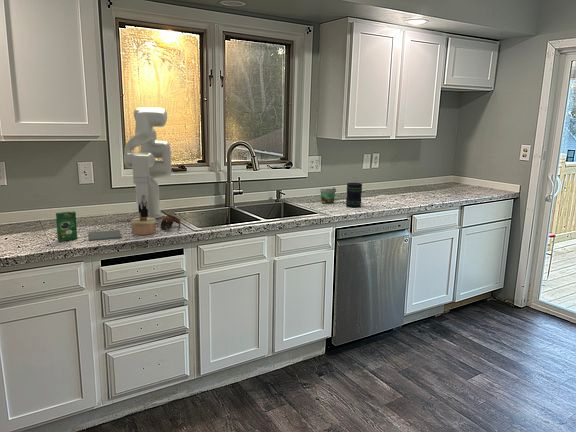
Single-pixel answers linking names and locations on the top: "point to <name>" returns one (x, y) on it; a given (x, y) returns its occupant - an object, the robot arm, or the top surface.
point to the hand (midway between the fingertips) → (143, 214)
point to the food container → (327, 196)
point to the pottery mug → (169, 221)
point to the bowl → (144, 229)
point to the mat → (104, 235)
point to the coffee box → (66, 226)
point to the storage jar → (354, 195)
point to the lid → (143, 221)
